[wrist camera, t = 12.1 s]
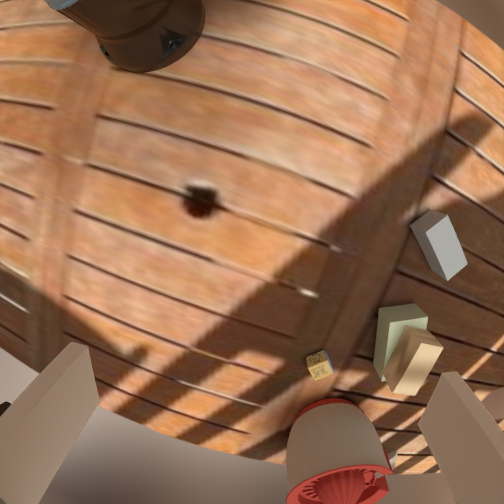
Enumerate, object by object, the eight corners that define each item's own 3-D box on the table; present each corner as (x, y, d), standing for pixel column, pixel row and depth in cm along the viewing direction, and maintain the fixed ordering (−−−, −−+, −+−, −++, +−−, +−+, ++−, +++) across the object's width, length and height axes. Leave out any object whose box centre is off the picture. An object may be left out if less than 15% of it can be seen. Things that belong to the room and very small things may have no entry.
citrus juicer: (376, 434, 50) (403, 514, 30) (288, 452, 51) (293, 538, 32) (379, 375, 46) (421, 465, 27) (276, 396, 47) (279, 497, 28)
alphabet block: (331, 362, 45) (334, 374, 43) (312, 370, 46) (315, 382, 43) (324, 348, 45) (327, 359, 42) (305, 356, 45) (307, 368, 42)
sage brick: (378, 307, 43) (389, 322, 38) (413, 302, 43) (427, 316, 38) (372, 363, 46) (381, 381, 41) (405, 357, 45) (417, 374, 40)
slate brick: (409, 225, 40) (425, 232, 35) (429, 209, 39) (447, 215, 34) (431, 269, 41) (447, 280, 36) (450, 254, 41) (467, 263, 36)
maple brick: (406, 324, 38) (421, 342, 33) (427, 330, 38) (443, 347, 34) (381, 372, 40) (392, 393, 35) (403, 375, 40) (414, 395, 36)
